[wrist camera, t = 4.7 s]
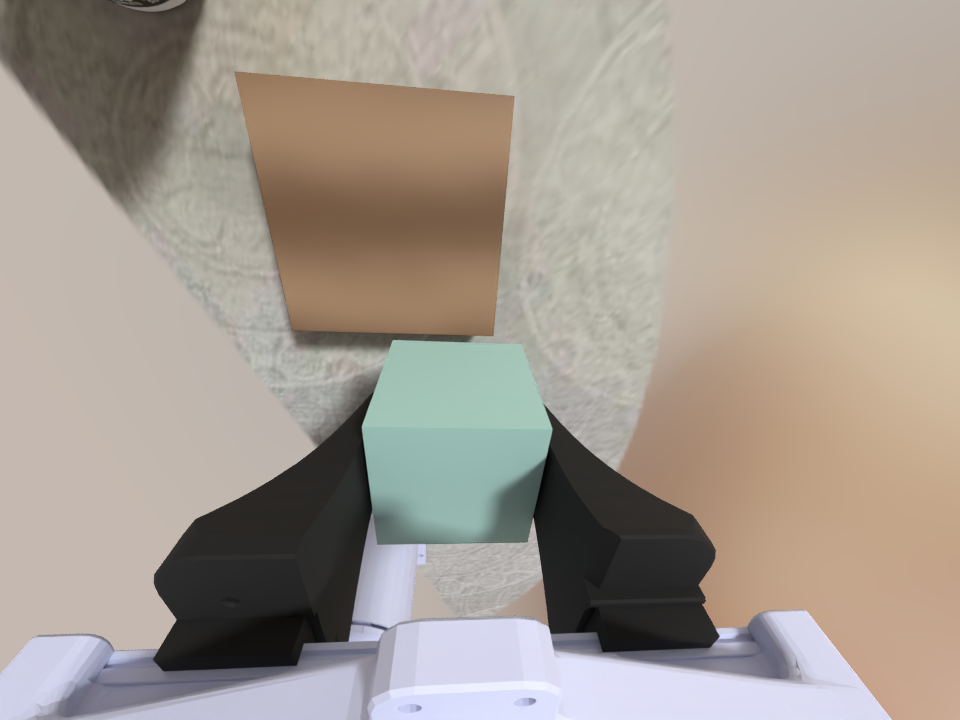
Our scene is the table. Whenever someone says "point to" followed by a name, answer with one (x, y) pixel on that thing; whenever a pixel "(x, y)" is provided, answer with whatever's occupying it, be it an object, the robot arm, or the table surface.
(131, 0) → the pill bottle
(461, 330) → the walnut base
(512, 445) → the teal cube
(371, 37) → the table surface
